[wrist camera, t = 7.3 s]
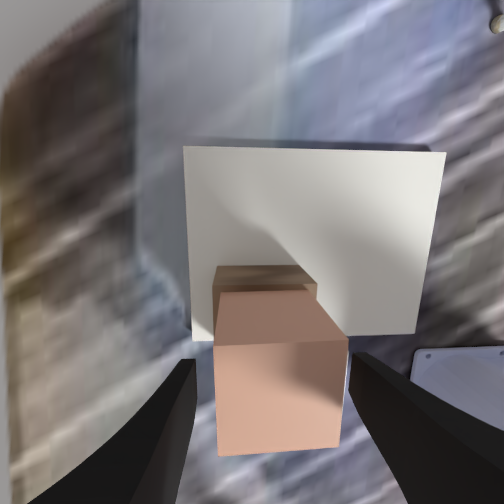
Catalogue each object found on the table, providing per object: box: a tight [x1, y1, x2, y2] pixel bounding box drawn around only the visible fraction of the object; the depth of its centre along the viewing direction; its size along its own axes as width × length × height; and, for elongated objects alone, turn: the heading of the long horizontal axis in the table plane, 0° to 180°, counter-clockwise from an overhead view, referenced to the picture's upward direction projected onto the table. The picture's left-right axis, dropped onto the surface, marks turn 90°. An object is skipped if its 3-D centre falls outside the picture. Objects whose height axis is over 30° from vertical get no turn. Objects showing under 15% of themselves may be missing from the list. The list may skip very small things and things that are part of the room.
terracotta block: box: [213, 290, 349, 457], centre depth 12 cm, size 5×5×5 cm
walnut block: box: [212, 265, 318, 337], centre depth 16 cm, size 6×6×4 cm
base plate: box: [183, 146, 446, 341], centre depth 18 cm, size 18×14×1 cm
